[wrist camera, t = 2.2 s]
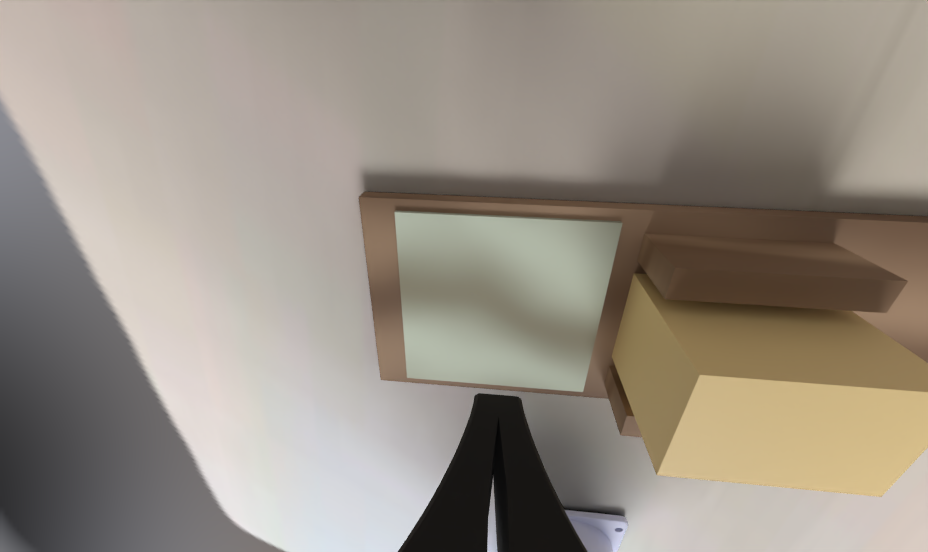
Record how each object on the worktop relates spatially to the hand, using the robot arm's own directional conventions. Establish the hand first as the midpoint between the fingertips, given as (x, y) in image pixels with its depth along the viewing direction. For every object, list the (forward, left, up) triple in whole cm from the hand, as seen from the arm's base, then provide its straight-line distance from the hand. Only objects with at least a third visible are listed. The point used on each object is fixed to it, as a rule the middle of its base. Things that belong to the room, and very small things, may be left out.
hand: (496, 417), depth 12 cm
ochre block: (0, -9, -6) cm, 11 cm away
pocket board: (0, -8, -7) cm, 11 cm away
